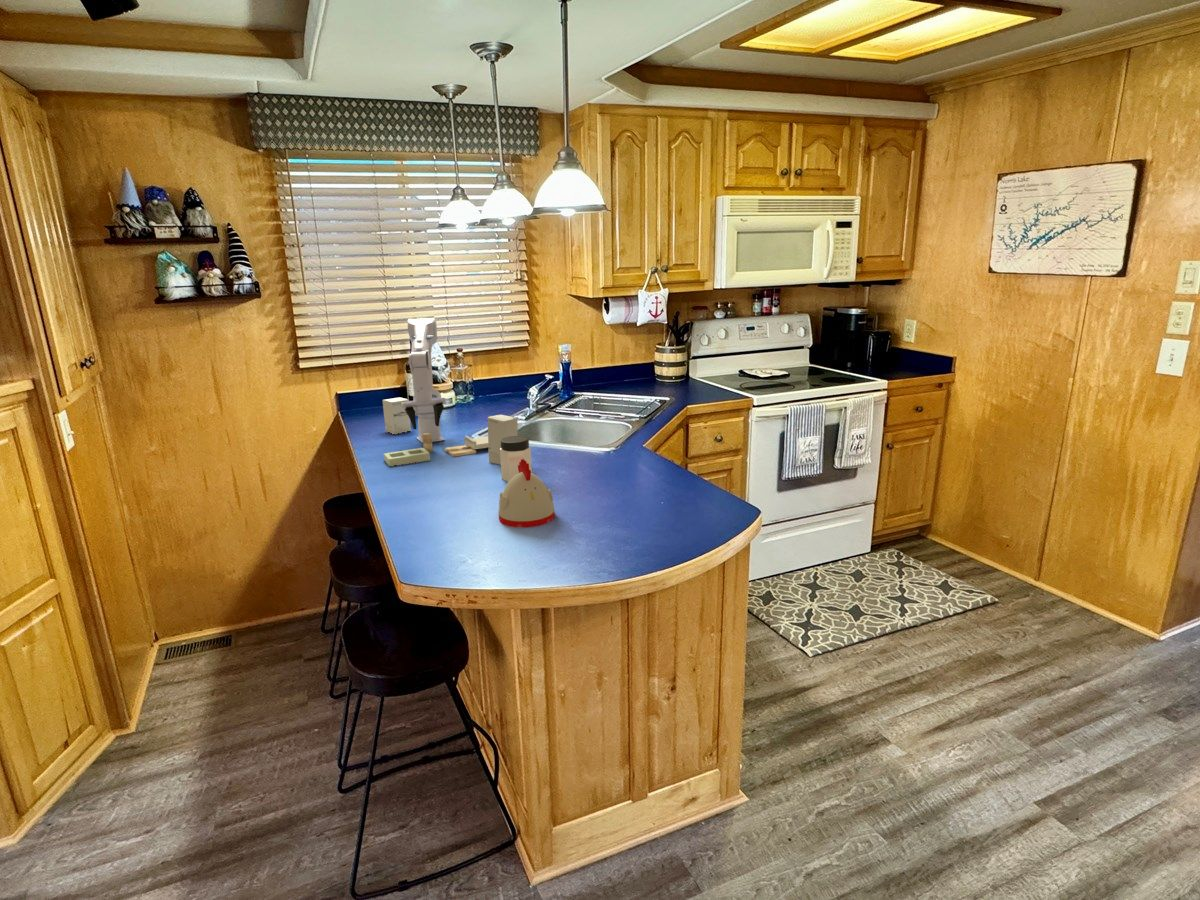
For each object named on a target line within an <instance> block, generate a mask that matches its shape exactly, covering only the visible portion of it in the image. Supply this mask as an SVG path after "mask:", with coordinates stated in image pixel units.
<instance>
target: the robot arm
mask: <svg viewBox="0 0 1200 900" xmlns="http://www.w3.org/2000/svg"><path fill="white" fill-rule="evenodd" d="M407 333H408V336H409V340H410V342H411V349H410V350H411V351H410V352H411V353H409V354H408V364H409V368H410V374H411V375H412V386H413V387H412V388H413V396H412V397H413V398H412V399H413V400H408V402H402V403H401V407H402V409H405V411H406V413H407V414H408V416H409V418H410V423H411V427H412V429H413V430H417V428H418V430H417V431H418V436H416V439H417V440H418V441H419V442H421V443H422V444H423V438H422V434H424V433H431V437H432V443H435V442H442V441H445V440H446V439H445V438H444V437H442V434H441V432H442V431H441V423H440V422H441V421H440V420H441V415H442V413H443V411H444V408H445V407H444V405H446V404H447V400H446V397H442V395H441V393H440V391H438V390H436V389H435V388H434V386H433V385H434V383H433V366H432V350H433V349H432V348H433V345H435V344H436V343H437V340H438V327H437V320H436V318H435V317H428V318H426V317H425V318H408V319H407ZM416 417H417V422H416Z"/></svg>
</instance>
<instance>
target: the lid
mask: <svg viewBox="0 0 1200 900" xmlns="http://www.w3.org/2000/svg"><path fill="white" fill-rule="evenodd" d="M464 443H465V444H464V445H468V446H469V447H471V448H472V449H475V450H479V449H486V448H488V435H487V436H479V437H473V438H471V437H470V436H468V435H465V436H464Z"/></svg>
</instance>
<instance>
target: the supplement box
mask: <svg viewBox="0 0 1200 900" xmlns="http://www.w3.org/2000/svg"><path fill="white" fill-rule="evenodd" d="M408 401H409V399H408V398H403V397H399V396H398V397H394V398H387V399H382V409H383V417H384V428H385V432H386V431H387V432H386V433H388V432H390V433H392V434H391V435H393V434H395V435H398V433H399V434H403V433H402V432H405V433H408V432H407V431H411V432H412V423H411V420H410V418H409V416H408V414H407V413H406V411H405V409H402V407H401V403H402V402H408ZM390 433H389V434H390Z"/></svg>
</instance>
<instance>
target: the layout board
mask: <svg viewBox="0 0 1200 900" xmlns="http://www.w3.org/2000/svg"><path fill="white" fill-rule="evenodd" d="M444 451H445V452H446V453H448V454H449V455H450V456H451V457H452V458H454V457H456V458H457V457H461V456H466V455H474V454H477V449H472V448H471V447H469V446H468V445H466V444H464V445H463V444H462V445H457V446H451V447H449V446H448V447H445V448H444Z"/></svg>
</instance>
